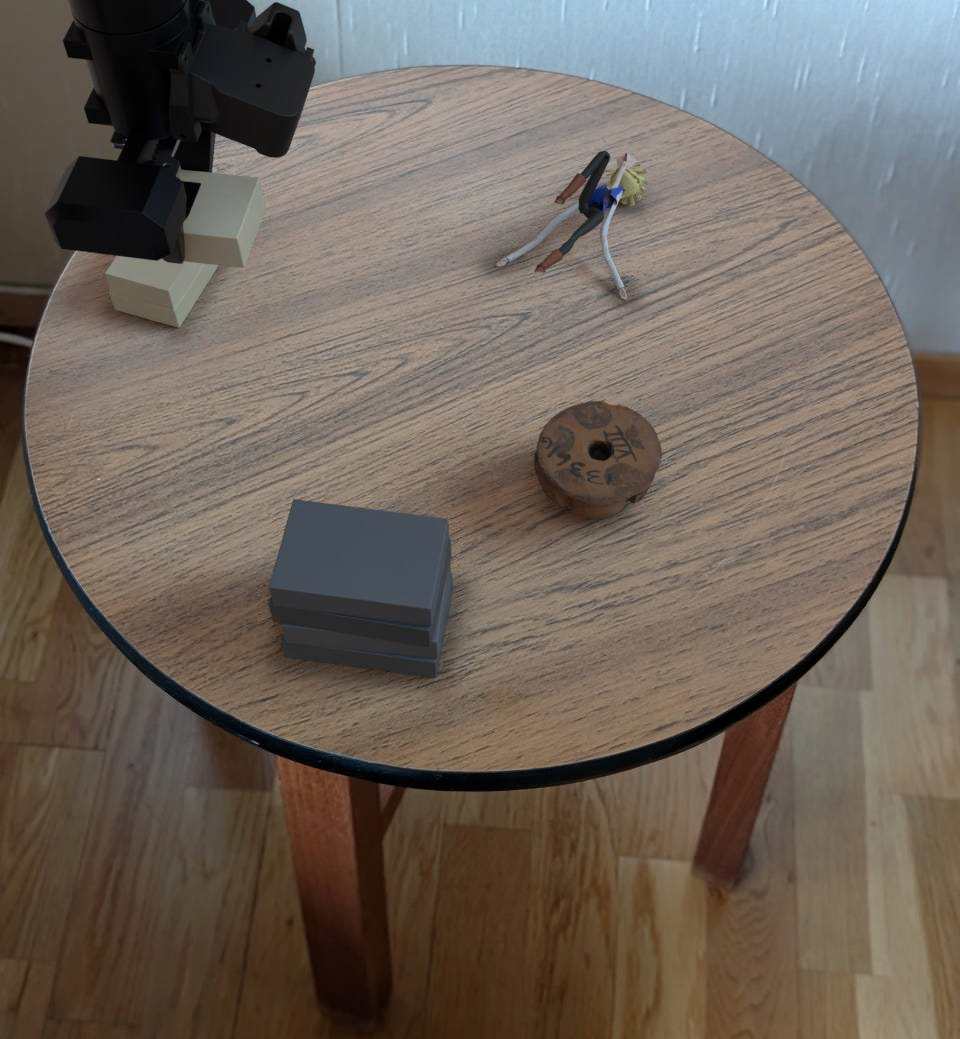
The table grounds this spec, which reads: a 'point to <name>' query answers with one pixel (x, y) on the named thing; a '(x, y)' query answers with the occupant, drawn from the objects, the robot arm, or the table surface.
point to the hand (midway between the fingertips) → (188, 229)
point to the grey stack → (363, 587)
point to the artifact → (597, 458)
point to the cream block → (222, 218)
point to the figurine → (592, 208)
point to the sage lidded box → (157, 287)
